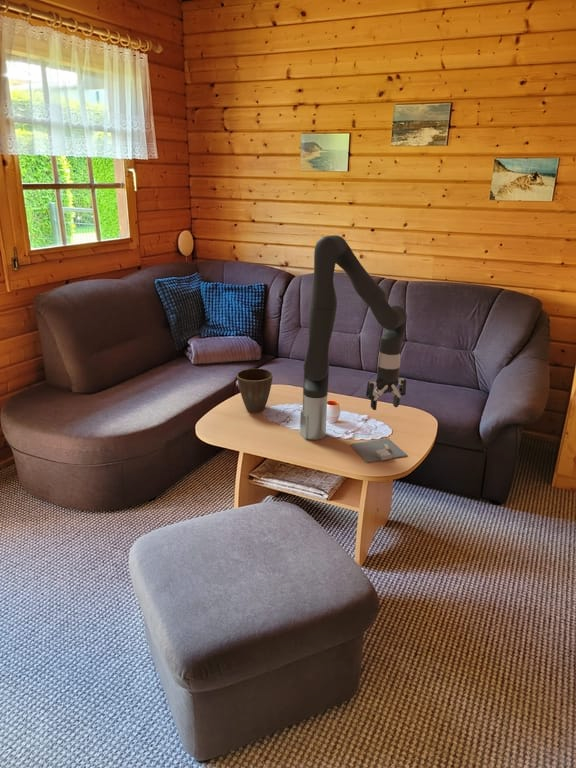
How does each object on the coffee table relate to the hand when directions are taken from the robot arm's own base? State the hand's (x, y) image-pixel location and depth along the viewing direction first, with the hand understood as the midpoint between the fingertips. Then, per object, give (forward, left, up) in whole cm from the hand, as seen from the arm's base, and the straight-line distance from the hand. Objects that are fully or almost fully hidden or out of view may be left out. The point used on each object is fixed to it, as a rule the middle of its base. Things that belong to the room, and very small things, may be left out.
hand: (384, 407), depth 196 cm
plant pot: (-33, +51, -18) cm, 63 cm away
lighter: (+1, -6, -17) cm, 18 cm away
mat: (0, +2, -18) cm, 18 cm away
